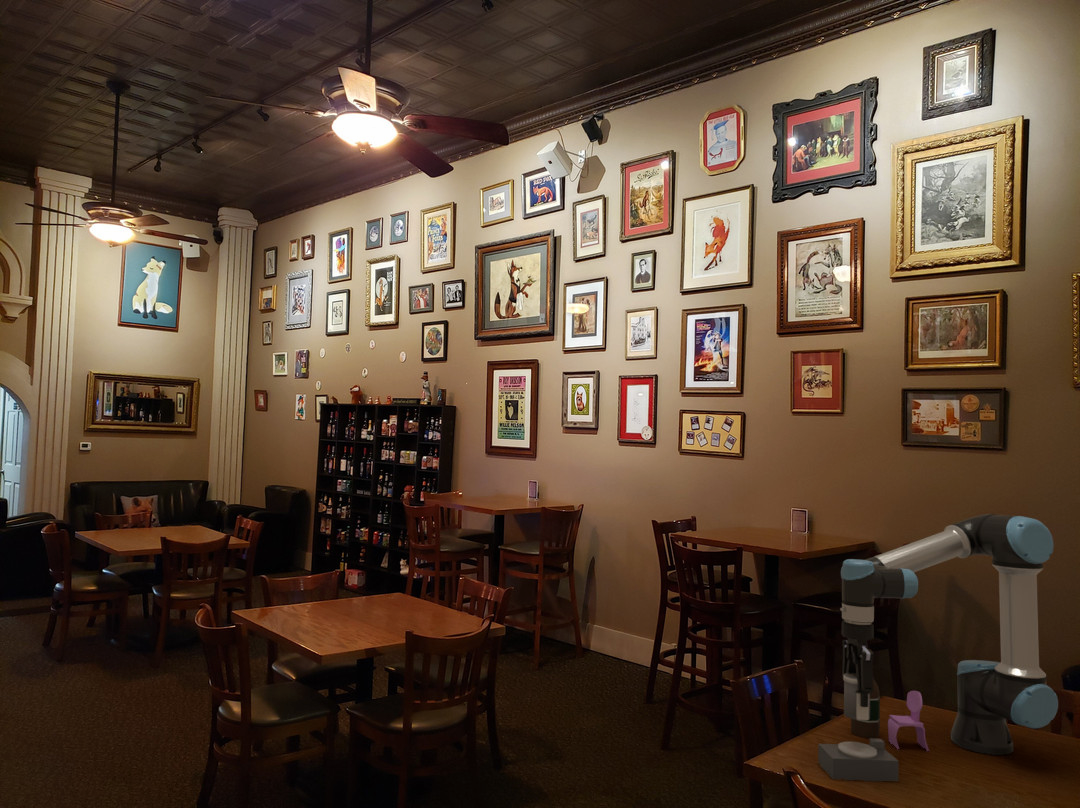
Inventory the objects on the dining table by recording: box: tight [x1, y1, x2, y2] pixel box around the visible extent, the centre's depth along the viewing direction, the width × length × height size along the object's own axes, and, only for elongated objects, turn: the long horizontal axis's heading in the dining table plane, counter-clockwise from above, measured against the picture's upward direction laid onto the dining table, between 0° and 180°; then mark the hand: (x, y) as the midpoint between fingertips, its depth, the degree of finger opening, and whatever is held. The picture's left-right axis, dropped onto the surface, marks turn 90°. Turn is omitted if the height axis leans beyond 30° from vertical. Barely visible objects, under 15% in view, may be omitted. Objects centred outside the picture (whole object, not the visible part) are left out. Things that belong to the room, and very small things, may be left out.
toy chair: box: [887, 690, 930, 752], centre depth 213 cm, size 8×9×15 cm
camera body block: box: [817, 738, 900, 782], centre depth 193 cm, size 16×10×7 cm, turn 90°
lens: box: [842, 673, 870, 720], centre depth 194 cm, size 6×6×10 cm
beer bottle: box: [850, 648, 881, 739], centre depth 222 cm, size 8×8×24 cm
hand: (857, 714), depth 194 cm, fingers closed on lens, 6 cm apart
